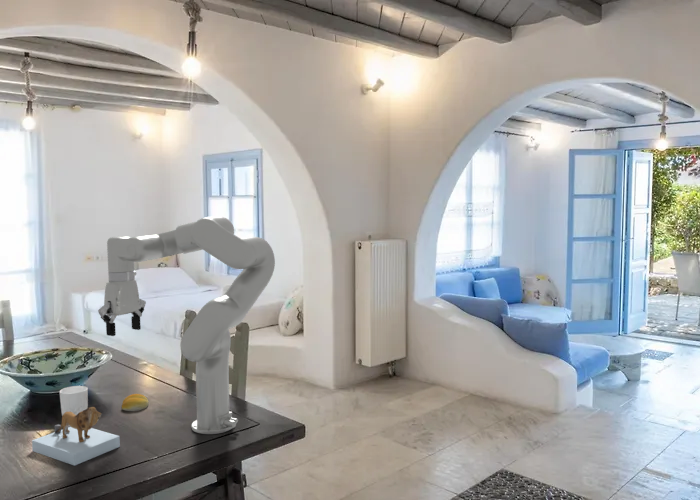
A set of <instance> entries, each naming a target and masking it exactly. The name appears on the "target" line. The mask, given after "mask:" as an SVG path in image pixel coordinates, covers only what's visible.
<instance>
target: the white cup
mask: <svg viewBox="0 0 700 500" xmlns="http://www.w3.org/2000/svg"><path fill="white" fill-rule="evenodd" d="M88 389H89V388H88V386H85V385H73V386H67V387H64V388H62V389H60V390H59V402H60V410H61V416H63V414H64V413H65V412H73V413H74V414H75V415H77V414H78V413H79V412H82V411H83V410H85V409H87V408H88V406H89V402H88V401H89V399H88V396H89V395H88V393H89V392H88V391H89V390H88Z"/></svg>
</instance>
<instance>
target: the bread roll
mask: <svg viewBox="0 0 700 500" xmlns="http://www.w3.org/2000/svg"><path fill="white" fill-rule="evenodd" d="M149 404H150V403H149V399H148V398H147V397H146V396H145V395H144V394H141V393H132V394H129V395H127V396H126V397H125V398H124V399H123V400H122V405H121V409H122V410H123V411H124V412H137V411H142V410H144V409H146V408H147V407H148V406H149Z"/></svg>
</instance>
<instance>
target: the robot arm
mask: <svg viewBox="0 0 700 500" xmlns="http://www.w3.org/2000/svg"><path fill="white" fill-rule="evenodd" d="M106 243H107V244H106V247H107V249H106V251H107V252H106V253H107V269H108V270H107V271H108V273H107V274H108V282H105V283H106V284H105V289H104V302H103V304H104V305H102V306H100V307H99V309H98V310H97V312H98V315H99V316H100V319H101V320H102V321H103V322H104V323H105V329H106V330H105V331H106V332H105V333H106V336H108V337H109V336H110V337H114V336H116V333H117V332H116V323H115V322H114V321H115V319H116V317H117V316H118V317H119V316H124V315H128V314H131V315H132V316H131V317H130V318H131V329H132V330H137V331H140V330H141V317H142V316H143V312H144V311H145V306H146V304H147V302H146V300H143V299H141V298H140V296H139V295H140V293H139V287H138V283H137V280H136V276H137V272H136V271H135V263H138V262H139V263H140V262H145V261H152V260H158V259H163V258H166V257H172V256H176V255H180V254H189V253H194V252H198V251H205V252H206V253H208V254H209V255H211V256H212V257H214V258H215V259H216V260H218V261H219V262H221V263H223V264H224V265H226V266H227V267H230V268H232V269H234V270H241V272H240V273H239V274H238V275H237V276H236V278H235V279H234V280H233V282H232V283H231V285H230V286H229V288H228V289H227V290H226V291H225V293H223V294H222V295H221V296H218V297H216V298H213V299H211V300H210V301H208V302H206V303H205V304H204V305H203V306H202V307H201V309H200V310H199V311H198V313H196V315H195V317H194V319H193V320H192V322H190V324H189V326H188V327H187V328H186V330H185V331H184V333H183V334H182V336H181V338H180V345H179V348H180V352H181V354H182V356H183V357H184V358H185V359H186V360H188V361H190V362H192V363H194V362H195V363H196V364H195V392H196V420H193V422H192V423H191V430H192V431H193V432H195V433H197V434H202V435H216V434H217V435H218V434H222V433H225V432H226V433H227V432H229V431H230V430H232V429H234V428H236V426H237V424H238V423H239V418H236V417H233V411H230V380H229V379H230V377H229V373H230V370H229V368H230V367H229V363H230V362H229V360H230V350H231V341H232V340H231V339H232V337H231V332H230V330H231V329H232V328H233V329H234V328H235V327H237V326H239V325H240V324H241V323H243V321H244V320H245V318H246V316H247V314H248V313H249V312H250V311H251V309H252V308H253V306H254V305H255V304H256V302H257V301H258V299H259V298H260V296H261V294H262V293H263V292H264V290H265V289H266V287H267V286H268V284H269V282H270V281H271V278H272V276H273V274H274V271H275V265H276V259H275V254H274V251H273V248H272V246H271V245H270V243H268V241H267V240H265V239H264V238H262V237H259V236H248V237H238V236H237V235H235V228H234V225H233V223H232V222H231V221H230V220H229V219H228V218H226V217H224V216H207V217H202V218H199V219H198V220H197V221H193V222H188V223H183V224H180V225H177V227H176V228H175V229H174V230H169V231H166V232H162V233H157V234H151V235H149V234H148V235H141V236H139V235H138V236H133V237H132V236H111V237H109V238H108V239H107V242H106Z"/></svg>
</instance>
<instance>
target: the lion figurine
mask: <svg viewBox="0 0 700 500" xmlns="http://www.w3.org/2000/svg"><path fill="white" fill-rule="evenodd" d="M61 416H62V415H61ZM101 417H102V412H99V411H98V410H97V408H96V407H95V406H90V407H87V409H85V410H83V411H82V412H79V413H78V414H77V415H75V414H74V413H73V412H65V413H64V414H63V416H62V417H61V424H60V425H61V427H60V428H59V429H58V430H57V431H55V430H54V432H56V433H58V432H59V431H60V430H63V431H62V432H63V438H67V435H66V433H69V432H70V431H69V430H68V427H72V428H74V429H77V430H78V436H79V442H83V441H84V440H83V437H82V431H83V430H84V437H85V438H90V436H89V435H87V433H88V430H90V429H91V428H93V427H94V426H96V424H97V423H98V421H99V420H100V419H101Z"/></svg>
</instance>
